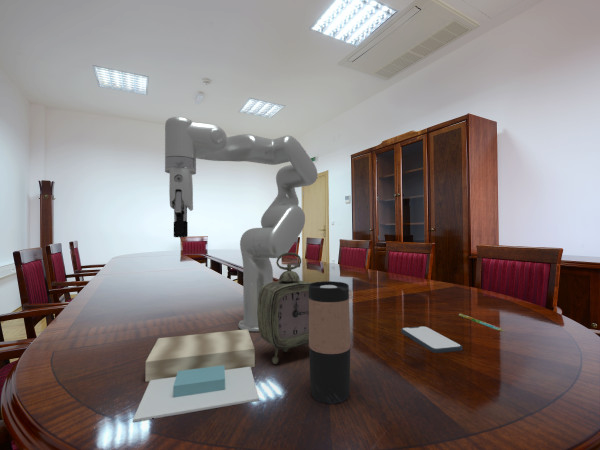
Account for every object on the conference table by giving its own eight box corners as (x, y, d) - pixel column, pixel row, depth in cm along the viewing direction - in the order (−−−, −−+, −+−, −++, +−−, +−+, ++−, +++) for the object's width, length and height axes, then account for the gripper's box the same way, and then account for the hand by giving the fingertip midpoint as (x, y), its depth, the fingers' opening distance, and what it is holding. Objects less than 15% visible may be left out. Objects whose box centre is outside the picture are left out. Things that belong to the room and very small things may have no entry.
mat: (250, 368, 64) (250, 366, 64) (258, 400, 52) (258, 398, 52) (150, 382, 59) (150, 380, 59) (132, 422, 46) (132, 419, 46)
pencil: (507, 333, 85) (461, 316, 103) (507, 329, 85) (461, 313, 103) (503, 333, 85) (458, 316, 103) (503, 330, 85) (458, 313, 103)
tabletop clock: (271, 369, 64) (270, 254, 64) (254, 355, 71) (253, 252, 72) (324, 354, 71) (322, 252, 72) (304, 342, 79) (303, 250, 80)
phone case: (465, 353, 73) (425, 331, 88) (465, 346, 73) (425, 325, 88) (433, 356, 71) (399, 333, 87) (433, 349, 71) (399, 327, 87)
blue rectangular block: (225, 378, 55) (225, 389, 55) (224, 365, 60) (224, 374, 60) (173, 386, 52) (173, 397, 52) (177, 371, 58) (177, 381, 58)
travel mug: (307, 383, 57) (306, 281, 58) (345, 381, 58) (343, 280, 59) (312, 406, 50) (310, 288, 50) (356, 403, 50) (354, 287, 51)
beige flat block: (247, 344, 78) (247, 329, 78) (254, 366, 65) (254, 348, 65) (158, 354, 72) (158, 338, 72) (145, 381, 59) (145, 361, 59)
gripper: (194, 160, 70) (194, 237, 69) (197, 173, 84) (197, 236, 84) (159, 158, 68) (159, 237, 67) (169, 172, 82) (169, 237, 82)
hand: (180, 237), depth 75 cm, fingers closed
